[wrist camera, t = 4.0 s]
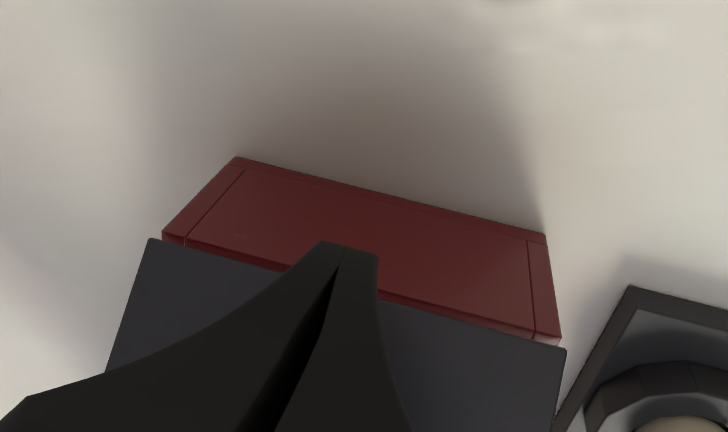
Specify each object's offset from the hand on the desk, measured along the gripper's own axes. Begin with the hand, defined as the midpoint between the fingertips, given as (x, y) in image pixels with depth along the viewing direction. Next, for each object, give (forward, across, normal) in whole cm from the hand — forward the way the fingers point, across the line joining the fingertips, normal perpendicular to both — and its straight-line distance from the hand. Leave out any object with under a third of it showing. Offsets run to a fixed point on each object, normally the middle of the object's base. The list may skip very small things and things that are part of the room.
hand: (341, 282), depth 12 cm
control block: (+9, -14, +9) cm, 19 cm away
